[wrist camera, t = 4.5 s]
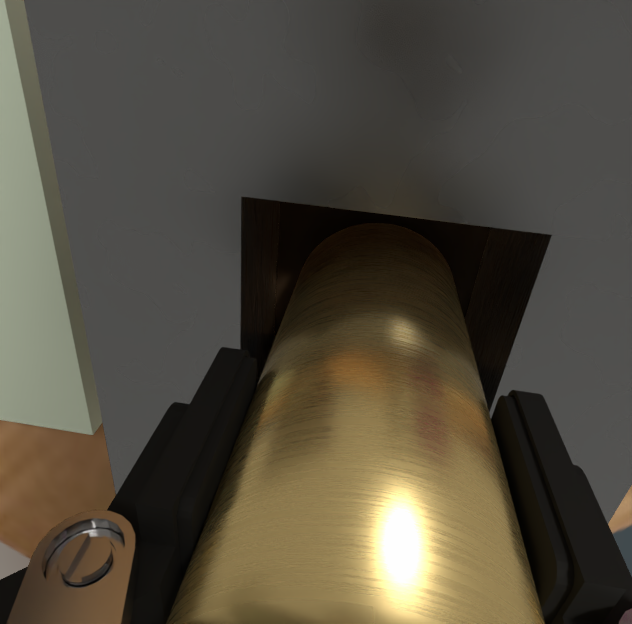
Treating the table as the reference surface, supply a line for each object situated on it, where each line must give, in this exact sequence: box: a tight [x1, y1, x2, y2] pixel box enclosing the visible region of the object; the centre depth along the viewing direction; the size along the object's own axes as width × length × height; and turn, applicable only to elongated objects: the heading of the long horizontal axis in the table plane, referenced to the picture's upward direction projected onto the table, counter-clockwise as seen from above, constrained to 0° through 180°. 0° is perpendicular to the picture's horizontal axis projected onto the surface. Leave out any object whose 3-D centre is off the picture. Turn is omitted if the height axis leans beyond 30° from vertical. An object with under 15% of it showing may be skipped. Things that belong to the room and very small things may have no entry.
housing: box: [24, 0, 632, 523], centre depth 15 cm, size 16×16×5 cm
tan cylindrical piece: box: [166, 223, 545, 624], centre depth 10 cm, size 5×5×12 cm
